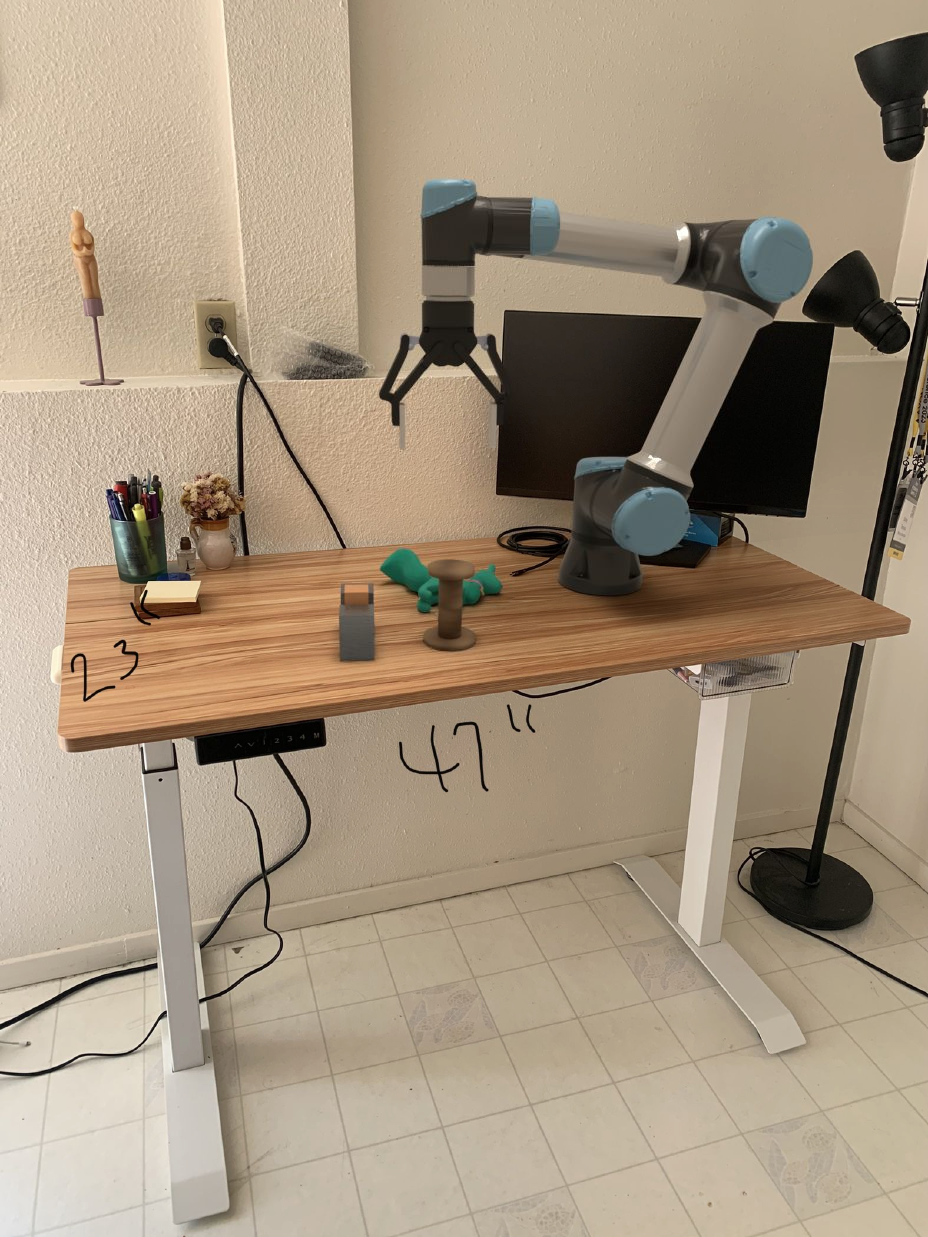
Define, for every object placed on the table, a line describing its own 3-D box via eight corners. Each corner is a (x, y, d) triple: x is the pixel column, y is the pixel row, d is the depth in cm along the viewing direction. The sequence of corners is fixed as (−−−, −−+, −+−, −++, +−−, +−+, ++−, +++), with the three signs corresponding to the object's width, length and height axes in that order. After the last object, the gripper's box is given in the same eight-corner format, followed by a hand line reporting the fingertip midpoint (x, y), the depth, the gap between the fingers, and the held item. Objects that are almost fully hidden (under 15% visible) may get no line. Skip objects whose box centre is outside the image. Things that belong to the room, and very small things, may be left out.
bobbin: (472, 630, 146) (475, 558, 142) (478, 650, 139) (481, 574, 134) (421, 631, 145) (422, 558, 141) (425, 651, 138) (426, 575, 134)
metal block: (373, 624, 147) (373, 583, 145) (374, 660, 134) (374, 615, 132) (342, 625, 147) (341, 583, 144) (339, 660, 134) (338, 615, 131)
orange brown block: (368, 636, 139) (368, 592, 136) (345, 636, 139) (344, 592, 136) (368, 627, 142) (368, 584, 140) (345, 627, 142) (344, 584, 139)
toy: (482, 595, 148) (513, 557, 166) (357, 568, 153) (400, 534, 171) (478, 634, 151) (508, 592, 169) (355, 606, 156) (397, 569, 174)
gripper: (529, 298, 137) (524, 441, 145) (360, 296, 134) (364, 443, 142) (539, 300, 130) (533, 451, 138) (360, 299, 127) (364, 453, 135)
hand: (447, 447), depth 140 cm, fingers open, 13 cm apart
